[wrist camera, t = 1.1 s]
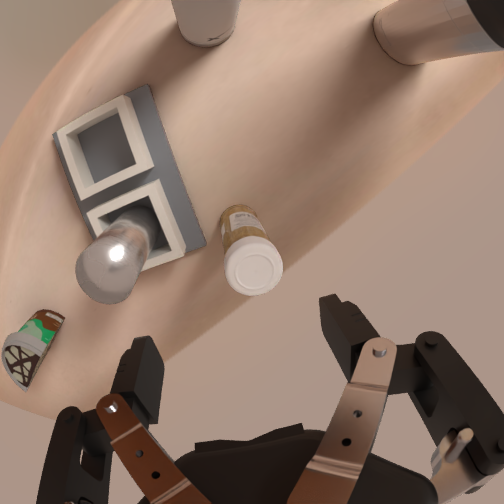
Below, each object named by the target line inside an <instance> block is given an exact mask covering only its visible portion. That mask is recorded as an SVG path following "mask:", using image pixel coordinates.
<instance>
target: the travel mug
mask: <svg viewBox="0 0 504 504" xmlns="http://www.w3.org/2000/svg"><path fill="white" fill-rule="evenodd" d="M171 2H172V5H173V9H174V12H175V15H176V19H177V22H178V25H179V29H180V32H181V34H182V36H183V37H184V39H185V40H186V41H188V42H189V43H191V44H193V45H196V46H200V47H211V46H215V45H218V44H221V43H223V42H224V41H226V40H227V39H228V38H229V37H230V36H231V34H232V33H233V31H234V28H235V23H236V19H237V15H238V11H239V6H240V2H241V0H171Z"/></svg>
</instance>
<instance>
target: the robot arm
mask: <svg viewBox="0 0 504 504" xmlns="http://www.w3.org/2000/svg"><path fill="white" fill-rule="evenodd" d="M373 25H374V32H375V35H376V38H377V40H378V42H379V43H380V45H381V46H382V48H383V49H384V50H385V51H386V53H387V54H388V55H390V56H391V57H392V58H393V59H395V60H396V61H398V62H400V63H402V64H405V65H416V64H421V63H425V62H430V61H435V60H441V59H446V58H451V57H457V56H463V55H470V54H477V53H485V52H493V51H504V0H398V1H396V2H394V3H392V4H390V5H389V6H387V7H385V8H384V9H382V10H380V11H379V12H378V13H377V14H376V16H375V18H374V23H373ZM319 306H320V317H321V326H322V331H323V334H324V337H325V338H326V340H327V342H328V344H329V346H330V348H331V349H332V352H333V353H334V355H335V358H336V359H337V361H338V363H339V365H340V367H341V369H342V371H343V373H344V375H345V377H346V379H347V380H348V383H347V384H346V386H345V389H344V391H343V394H342V396H341V398H340V401H339V403H338V405H337V408H336V410H335V413H334V415H333V417H332V419H331V421H330V424H329V426H328V428H327V430H326V432H325V431H321V430H304V429H303V425H302V423H299V424H296V425H292V426H288V427H284V428H279V429H275V430H273V431H271V432H269V433H266V434H264V435H262V436H259V437H257V438H255V439H253V440H249V441H234V440H214V441H207V442H199V443H195V450H194V451H191V452H189V453H187V454H185V455H183V456H182V457H180V458H179V459H177V460H176V461H174V460H173V459H172V458H171V457H170V456H169V455H168V454H167V452H166V451H165V450H164V449H163V448H162V447H161V445H160V444H159V443H158V442H157V440H156V439H155V438H154V437H153V436H152V434H151V433H150V432H149V431H148V428H149V424H158V416H159V408H160V400H161V391H162V385H163V377H164V363H163V360H162V358H161V356H160V354H159V352H158V350H157V348H156V346H155V344H154V342H153V340H152V338H151V337H150V336H143V337H137V338H134V340H133V343H132V346H131V349H127V350H126V351H125V353H124V354H123V355H122V357H121V359H120V362H119V366H118V368H117V373H116V375H115V378H114V381H113V385H112V388H111V391H110V394H108V395H106V396H104V397H102V398H101V399H100V400H99V402H98V403H97V406H96V409H93V410H90V411H87V412H84V413H82V412H81V411H80V410H79V409H78V408H77V407H74V406H70V407H67V408H65V409H63V410H62V411H61V412H60V413H59V415H58V417H57V420H56V423H55V426H54V430H53V433H52V436H51V440H50V444H49V447H48V451H47V455H46V459H45V463H44V467H43V471H42V476H41V480H40V485H39V490H38V495H37V501H36V504H108V495H109V483H110V482H109V481H110V472H111V462H112V454H113V451H115V452H116V453H117V455H118V457H119V458H120V460H121V462H122V463H123V465H124V466H125V468H126V469H127V471H128V472H129V474H130V475H131V477H132V478H133V479H134V481H135V482H136V484H137V485H138V487H139V488H140V489H141V491H142V492H143V493H144V495H145V496H144V497H143V498H142V499H141V500H140V502H139V503H138V504H446V503H448V502H450V501H451V500H453V499H455V498H456V497H458V496H460V495H462V494H463V493H465V494H470V493H473V492H476V491H477V490H478V489H480V488H481V487H482V486H484V485H485V484H486V483H487V482H488V481H489V480H491V479H492V478H493V477H494V476H495V475H496V474H498V473H499V472H500V471H501V470H502V469H503V468H504V414H503V412H502V411H501V409H500V408H499V406H498V405H497V404H496V402H495V401H494V399H493V398H492V397H491V395H490V394H489V393H488V391H487V390H486V388H485V387H484V386H483V384H482V383H481V382H480V381H479V379H478V378H477V377H476V375H475V374H474V373H473V371H472V370H471V369H470V368H469V366H468V365H467V364H466V363H465V361H464V360H463V359H462V358H461V356H460V355H459V354H458V353H457V351H456V350H455V349H454V348H453V347H452V346H451V344H450V343H449V342H448V341H447V339H446V338H445V337H444V336H443V335H442V334H440V333H437V332H433V331H428V332H424V333H422V334H420V335H419V336H418V337H417V338H416V341H415V343H412V344H405V345H395V343H394V342H393V341H391V340H389V339H387V338H383V337H380V335H379V334H378V333H377V331H376V330H375V329H374V328H373V326H372V325H371V323H370V322H369V321H368V320H367V319H366V317H365V316H364V314H363V313H362V312H361V311H360V309H359V308H358V307H357V305H355V304H353V303H351V302H349V301H346V302H341V301H340V299H339V298H338V297H337V295H336V294H331V295H328V296H324V297H321V298H319ZM400 393H408V394H409V396H410V398H411V400H412V402H413V403H414V405H415V407H416V409H417V411H418V412H419V414H420V416H421V418H422V420H423V421H424V424H425V425H426V427H427V429H428V431H429V433H430V435H431V437H432V439H433V440H434V443H435V445H436V446H437V448H436V450H435V451H434V453H433V455H432V458H431V466H432V471H433V473H432V477H431V479H430V480H429V479H428V478H426V477H425V476H423V475H421V474H419V473H417V472H414V471H412V470H409V469H407V468H404V467H402V466H400V465H397V464H395V463H393V462H390V461H388V460H386V459H384V458H381V457H379V456H377V455H375V454H372V453H371V450H372V448H373V445H374V442H375V439H376V435H377V432H378V429H379V425H380V422H381V419H382V415H383V412H384V408H385V404H386V401H387V397H388V395H392V394H400ZM82 449H83V455H82V461H81V465H80V455H81V450H82Z"/></svg>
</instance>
